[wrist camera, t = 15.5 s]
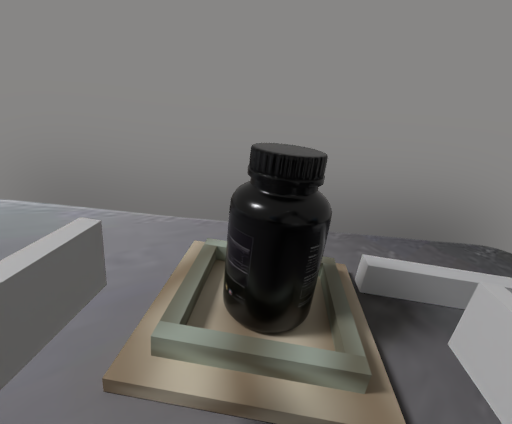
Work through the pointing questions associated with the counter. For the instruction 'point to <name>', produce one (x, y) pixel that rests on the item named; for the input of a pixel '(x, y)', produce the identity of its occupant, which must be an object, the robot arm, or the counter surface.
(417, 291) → the bracket
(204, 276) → the seating station
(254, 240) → the supplement bottle
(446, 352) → the counter surface
